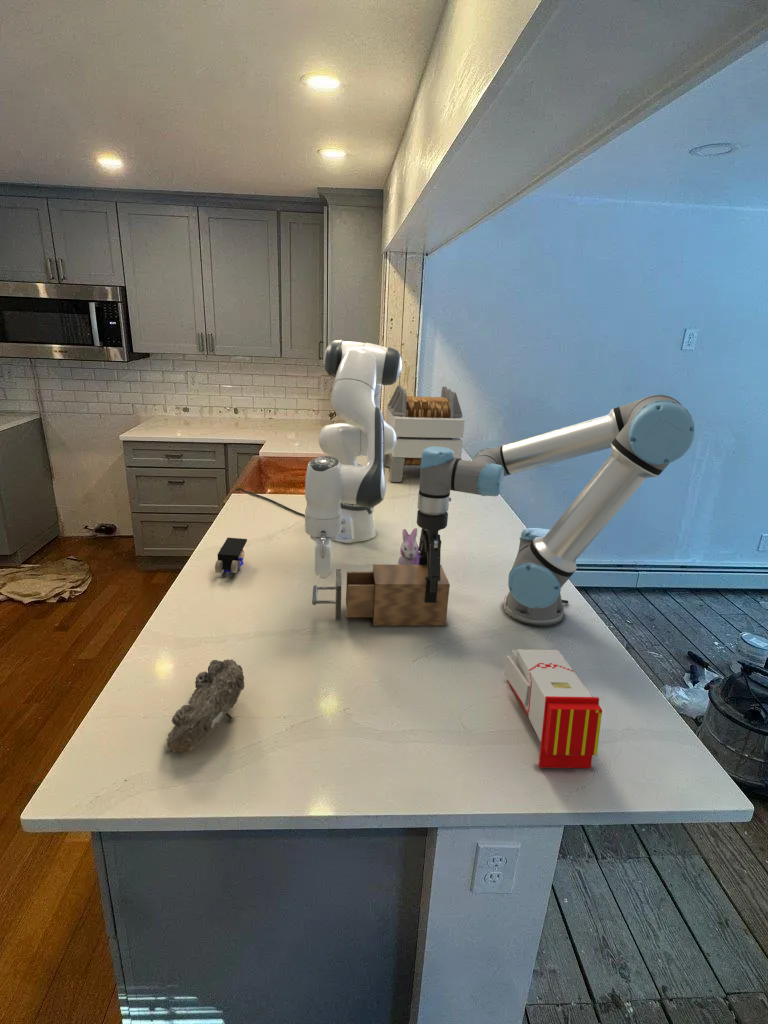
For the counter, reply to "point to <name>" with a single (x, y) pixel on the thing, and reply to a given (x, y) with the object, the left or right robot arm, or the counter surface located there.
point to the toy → (556, 707)
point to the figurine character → (230, 556)
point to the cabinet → (407, 596)
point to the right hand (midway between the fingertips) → (426, 590)
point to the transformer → (422, 428)
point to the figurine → (409, 549)
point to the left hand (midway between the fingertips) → (323, 576)
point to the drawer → (352, 594)
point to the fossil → (206, 705)
